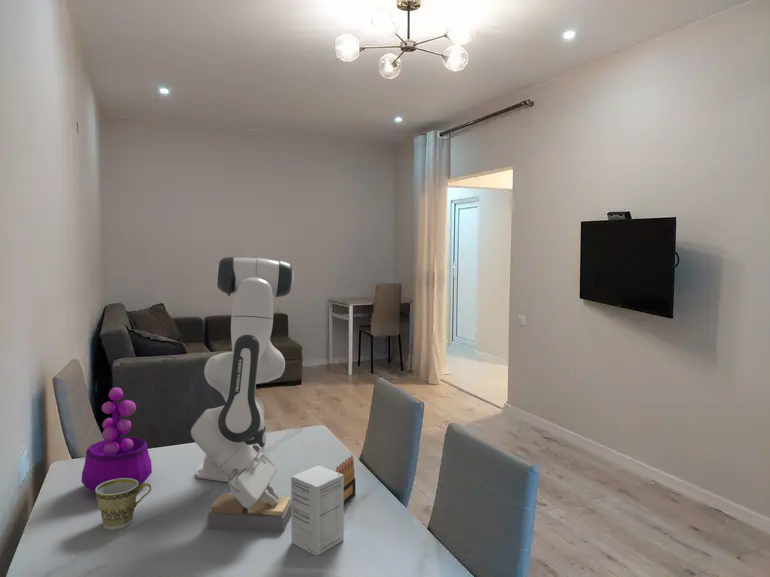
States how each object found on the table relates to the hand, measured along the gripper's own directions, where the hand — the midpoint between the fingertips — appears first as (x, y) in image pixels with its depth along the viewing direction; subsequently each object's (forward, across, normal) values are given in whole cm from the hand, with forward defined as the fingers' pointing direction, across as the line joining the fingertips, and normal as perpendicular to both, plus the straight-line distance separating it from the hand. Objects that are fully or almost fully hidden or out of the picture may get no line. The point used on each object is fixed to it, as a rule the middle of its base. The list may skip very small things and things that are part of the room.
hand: (276, 502), depth 144 cm
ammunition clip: (+15, +14, -8) cm, 22 cm away
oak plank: (0, 0, +2) cm, 3 cm away
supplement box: (+13, -9, -5) cm, 16 cm away
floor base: (-1, 0, +8) cm, 8 cm away
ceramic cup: (-23, -4, +32) cm, 39 cm away
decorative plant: (-32, +16, +41) cm, 55 cm away
